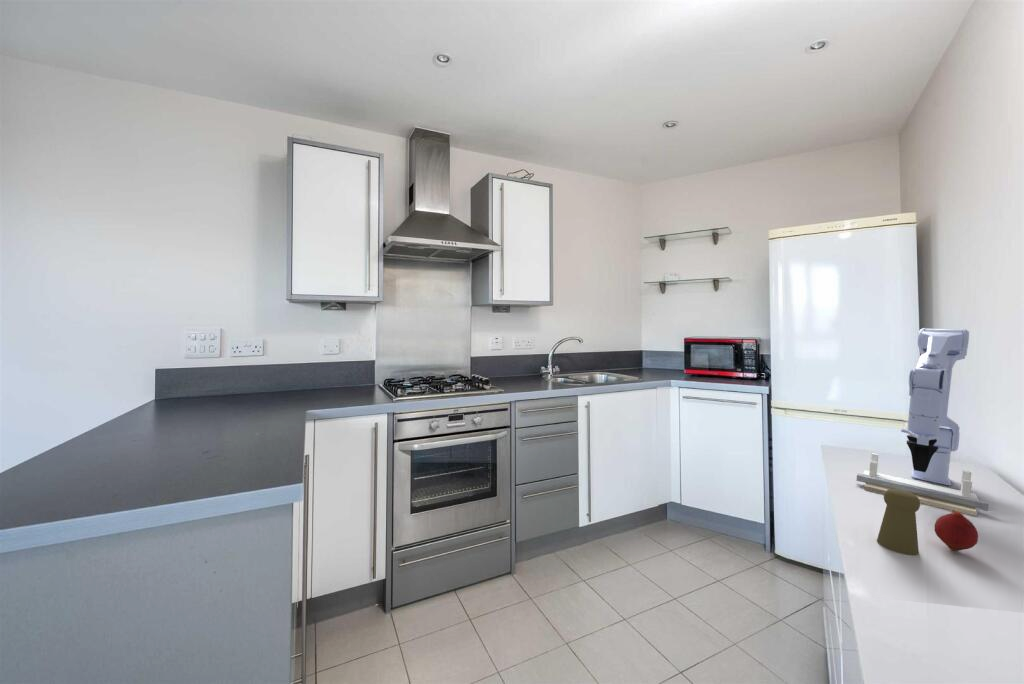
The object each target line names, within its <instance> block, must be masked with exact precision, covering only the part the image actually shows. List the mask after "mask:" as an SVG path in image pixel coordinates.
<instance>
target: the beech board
mask: <svg viewBox="0 0 1024 684" xmlns="http://www.w3.org/2000/svg"><path fill="white" fill-rule="evenodd" d="M889 489H890V488H885V487H881V486H877V485H872V484H868V483H864V490H866V491H870V492H874V493H878V494H882V495H884V493H885V492H886V491H887V490H889ZM914 495H916V494H914ZM916 496H917V497H918V498H919V500H920V504H923V503H924V505H927V506H928V505H929V506H933V507H937V508H939V509H940V508H941V509H946V510H948V511H949V510H950V511H952V510H954V509H955V510H958V511H959V512H960V513H961V514H966V515H971V516H974V517H977V513H978V512H977V508H973V507H968V506H964V505H959V504H955V503H951V502H946V501H942V500H938V499H933V498H929V497H925V496H920V495H916Z"/></svg>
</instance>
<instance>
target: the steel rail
mask: <svg viewBox="0 0 1024 684" xmlns="http://www.w3.org/2000/svg"><path fill="white" fill-rule="evenodd" d="M856 482H860V483H864V484H866V483H868V484H872V485H877V486H881V487H885V488H890V489H898V490H903V491H907V492H910V493H912V494H916V495H920V496H925V497H929V498H933V499H938V500H942V501H946V502H951V503H955V504H959V505H964V506H968V507H973V508H975V509H976V510H977V509H978V510H982V511H986V512H988V511H989V502H988V501H985V500H980V499H978V500H976V499H971V498H967V497H962V496H958V495H953V494H949V493H944V492H940V491H935V490H931V489H926V488H921V487H917V486H912V485H908V484H903V483H899V482H894V481H890V480H885V479H881V478H876V477H871V476H867V475H863V474H861V473H857V474H856Z"/></svg>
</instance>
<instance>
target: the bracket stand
mask: <svg viewBox="0 0 1024 684" xmlns="http://www.w3.org/2000/svg"><path fill="white" fill-rule="evenodd" d="M879 455H880V454H878V453H873V452H872V453H871V457H870V462H869V470H865V469H864V471H863V474H862V475H867V476H871V477H876V478H881V479H885V480H890V481H894V482H899V483H903V484H908V485H912V486H917V487H921V488H926V489H931V490H935V491H940V492H944V493H949V494H953V495H958V496H962V497H967V498H971V499H976V500H979V498H978V495H977V494H976V493H973V492H972V487H973V481H972V480H971V479H972V478H971V477H972V471H968V470H962V473H961V481H960V482H961V484H960V490H959V489H954V488H950V487H946V486H940V485H936V484H930V483H925V482H921V481H918V480H917V481H916V480H913V479H908V478H907V479H906V478H903V477H899V476H892V475H888V474H885V473H879V472H878V468H879V467H878V466H879Z"/></svg>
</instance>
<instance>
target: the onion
mask: <svg viewBox="0 0 1024 684" xmlns="http://www.w3.org/2000/svg"><path fill="white" fill-rule="evenodd" d="M934 532H935V535H936V536H937V537H938V539H939V540H941V542H943V544H945V545H946V547H947V548H949V550H951V551H954V552H958V551H959V552H960V551H964V550H969V549H972V548H974V546H976V545H977V544H978V540H979V532H978V530H977V528H976V526H975V525H974V524H973V522H972V521H971V520H970V519H968V518H967V517H965V515H963V513H961V512H959V511H958V510H955V509H954V510H951V513H947V514H946V513H945V514H943V515H941V516H940V517H938V518H937V519H936V521H935V523H934Z"/></svg>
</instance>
